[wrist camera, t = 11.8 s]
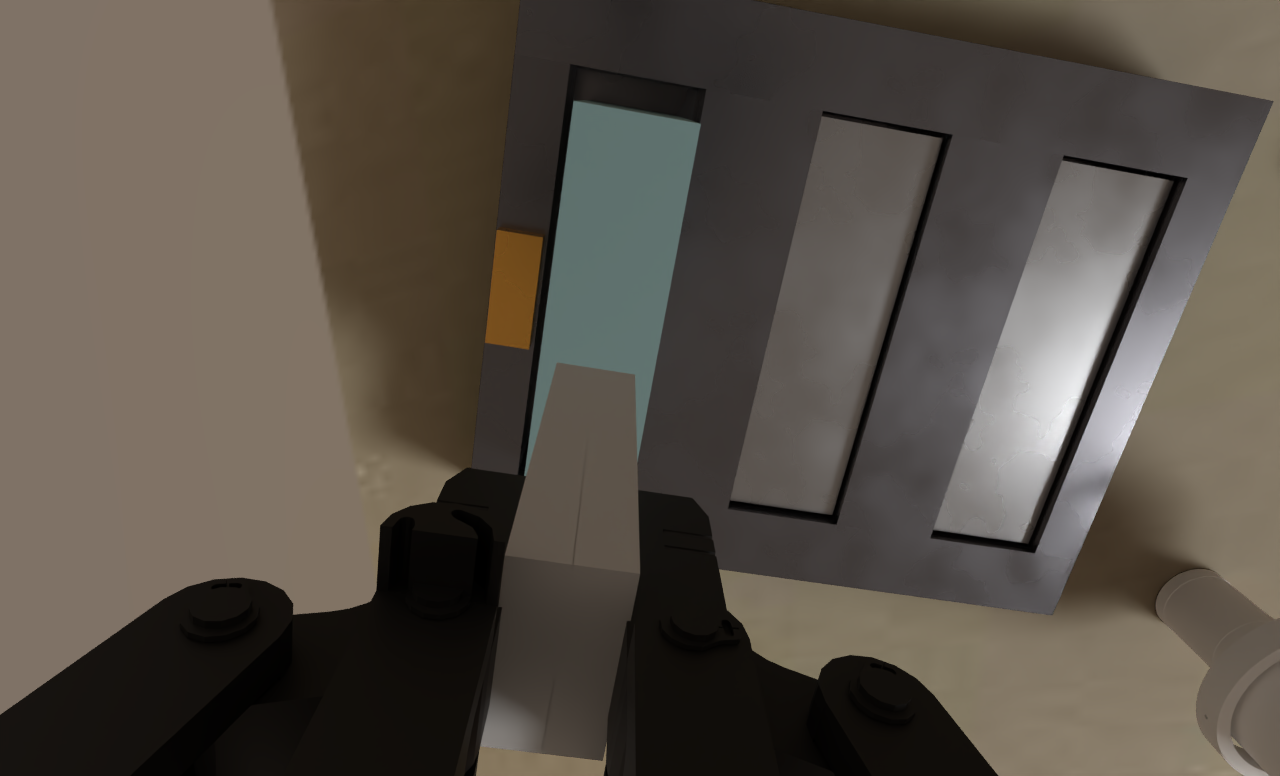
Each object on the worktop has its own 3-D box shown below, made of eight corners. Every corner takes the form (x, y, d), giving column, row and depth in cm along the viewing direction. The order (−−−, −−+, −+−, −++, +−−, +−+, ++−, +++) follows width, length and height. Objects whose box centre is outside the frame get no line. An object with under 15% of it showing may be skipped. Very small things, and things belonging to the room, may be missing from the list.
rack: (540, -23, 25) (521, -48, 21) (1182, 100, 26) (1290, 101, 22) (484, 481, 31) (461, 542, 27) (1003, 556, 33) (1060, 625, 29)
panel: (590, 100, 25) (573, 100, 18) (679, 116, 25) (701, 123, 18) (544, 430, 29) (515, 544, 22) (621, 442, 30) (619, 558, 22)
